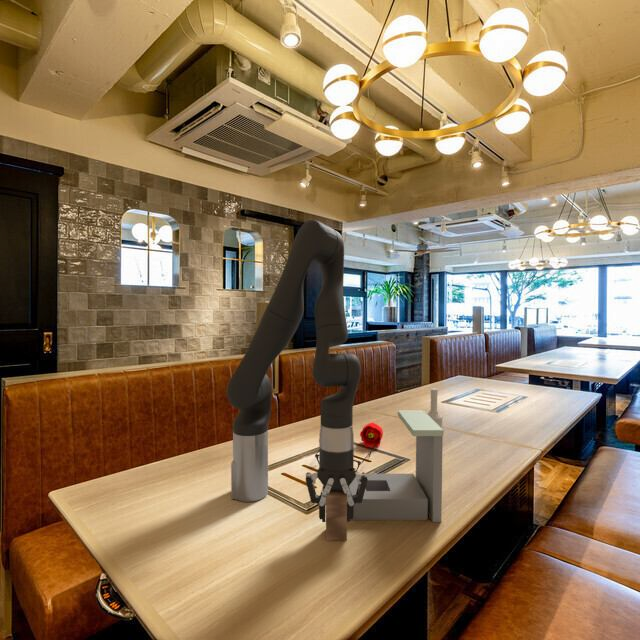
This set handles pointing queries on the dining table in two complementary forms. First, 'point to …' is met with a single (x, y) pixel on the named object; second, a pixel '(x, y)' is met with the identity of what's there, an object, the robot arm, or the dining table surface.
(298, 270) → the robot arm
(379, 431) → the flower
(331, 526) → the peg
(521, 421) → the dining table surface
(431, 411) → the bottle
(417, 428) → the panel
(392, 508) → the socket
